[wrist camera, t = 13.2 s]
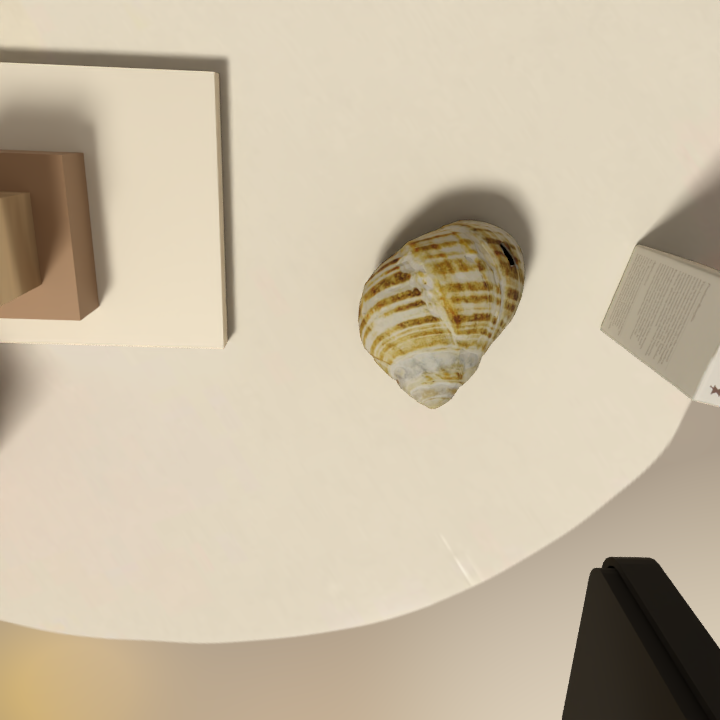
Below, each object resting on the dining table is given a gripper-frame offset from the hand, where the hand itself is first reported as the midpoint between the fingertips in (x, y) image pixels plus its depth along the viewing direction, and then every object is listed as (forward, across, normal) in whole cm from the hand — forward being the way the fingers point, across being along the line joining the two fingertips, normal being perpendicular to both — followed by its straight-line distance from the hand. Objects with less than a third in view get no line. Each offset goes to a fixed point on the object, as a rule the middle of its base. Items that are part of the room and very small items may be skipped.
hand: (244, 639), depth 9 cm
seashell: (+34, -7, +4) cm, 35 cm away
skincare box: (+34, -21, +3) cm, 40 cm away
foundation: (+33, +16, -1) cm, 37 cm away
